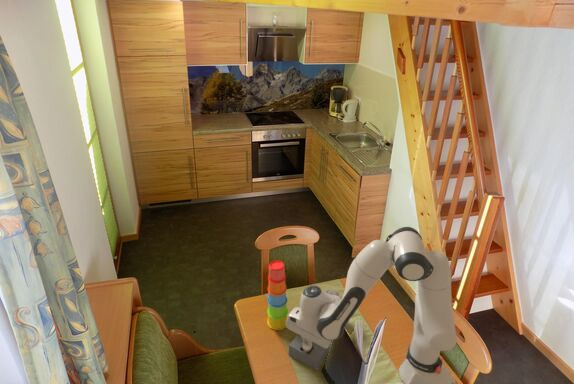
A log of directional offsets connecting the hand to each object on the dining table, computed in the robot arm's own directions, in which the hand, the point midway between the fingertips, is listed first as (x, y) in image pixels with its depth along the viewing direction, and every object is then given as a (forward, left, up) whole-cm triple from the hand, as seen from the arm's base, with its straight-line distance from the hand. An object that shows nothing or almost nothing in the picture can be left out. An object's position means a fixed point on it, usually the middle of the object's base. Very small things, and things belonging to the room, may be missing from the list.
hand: (307, 343), depth 162 cm
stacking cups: (+21, -10, -9) cm, 25 cm away
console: (0, -7, -9) cm, 11 cm away
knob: (0, 0, -6) cm, 6 cm away
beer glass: (+2, -27, -9) cm, 28 cm away
